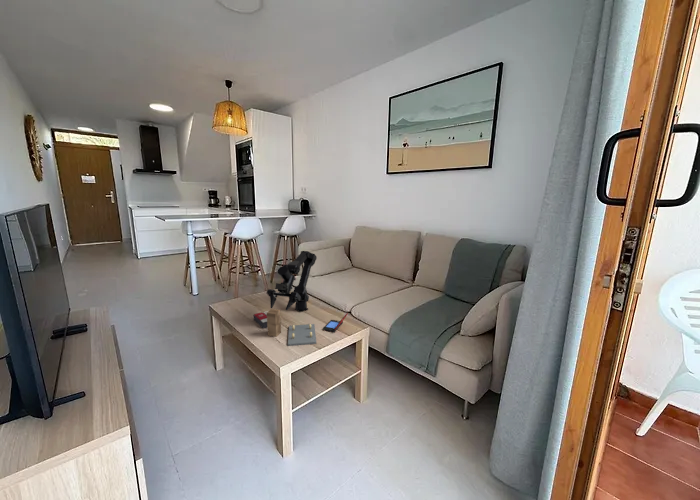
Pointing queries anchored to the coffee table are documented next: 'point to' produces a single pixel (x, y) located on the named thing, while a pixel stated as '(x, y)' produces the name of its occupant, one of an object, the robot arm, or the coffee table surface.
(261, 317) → the grey and red box
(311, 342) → the plate
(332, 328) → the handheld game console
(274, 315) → the walnut block
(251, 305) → the coffee table surface
